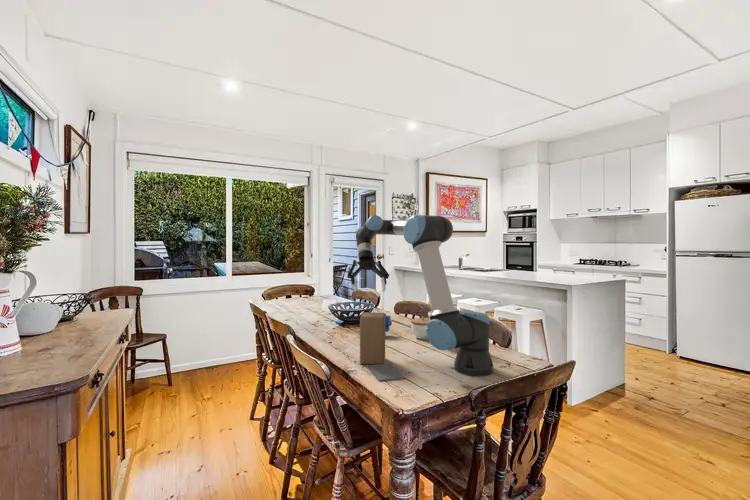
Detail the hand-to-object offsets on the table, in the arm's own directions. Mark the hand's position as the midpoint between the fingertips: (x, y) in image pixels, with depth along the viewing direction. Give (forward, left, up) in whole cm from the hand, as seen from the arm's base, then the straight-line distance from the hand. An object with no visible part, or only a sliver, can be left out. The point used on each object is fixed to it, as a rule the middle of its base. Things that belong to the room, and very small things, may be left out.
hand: (370, 290), depth 173 cm
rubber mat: (-30, +2, -28) cm, 41 cm away
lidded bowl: (+14, -33, -28) cm, 46 cm away
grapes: (+24, -13, -28) cm, 39 cm away
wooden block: (-16, +3, -28) cm, 33 cm away
